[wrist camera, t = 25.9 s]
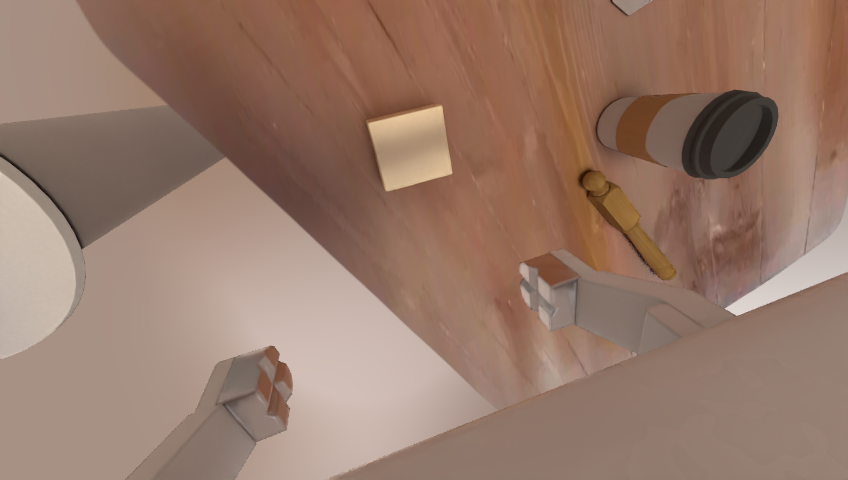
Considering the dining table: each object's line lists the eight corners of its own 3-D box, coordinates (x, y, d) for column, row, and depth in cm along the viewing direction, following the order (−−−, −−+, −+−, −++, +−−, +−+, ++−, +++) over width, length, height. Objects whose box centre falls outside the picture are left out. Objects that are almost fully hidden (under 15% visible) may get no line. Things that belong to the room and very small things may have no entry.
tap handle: (668, 284, 55) (589, 187, 41) (653, 275, 58) (573, 180, 44) (681, 272, 54) (606, 169, 40) (665, 263, 57) (589, 163, 43)
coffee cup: (653, 95, 41) (800, 100, 28) (625, 158, 44) (745, 188, 31) (605, 82, 38) (742, 80, 25) (579, 149, 42) (689, 178, 29)
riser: (444, 168, 38) (452, 174, 35) (382, 184, 37) (386, 192, 34) (434, 103, 34) (442, 105, 32) (364, 120, 33) (367, 123, 31)
